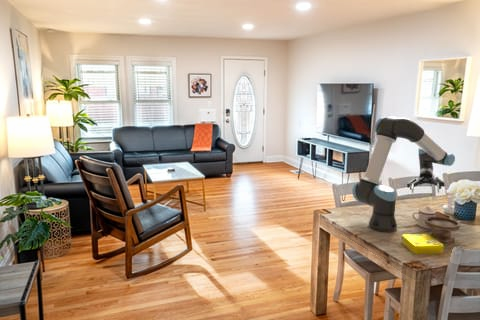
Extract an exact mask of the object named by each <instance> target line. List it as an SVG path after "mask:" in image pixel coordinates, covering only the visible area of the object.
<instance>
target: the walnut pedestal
mask: <svg viewBox="0 0 480 320" xmlns="http://www.w3.org/2000/svg"><path fill="white" fill-rule="evenodd" d="M425 224H426V225H427V226H428V227H430V228H429V229H431V231H429V232H427V233H426V234H429V235H431V236H432V237H434V238H435V239H436V240H438V241H439V242H441V243H442V244H451V243H452V244H453V243H454V242H455V241H456V239H455V238H456V237H455V236H454V235H452V232H457V231H458V230H460V227H461V222H459V221H458V220H456V219H453V218H450V217H444V216H437V215H436V216H431V217H427V218H426V219H425Z"/></svg>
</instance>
